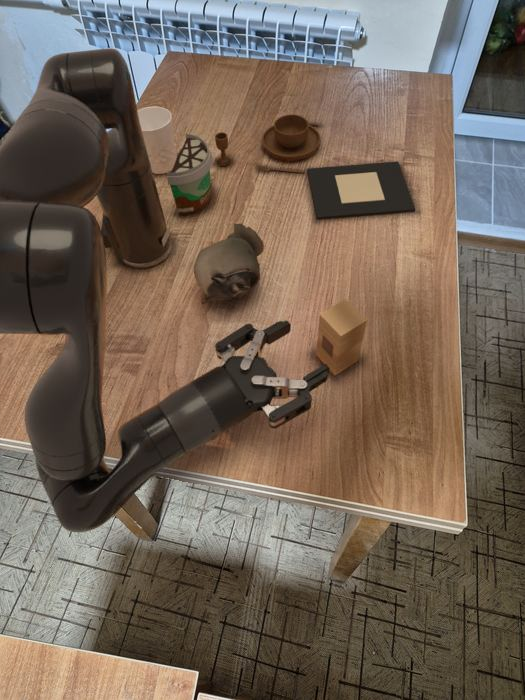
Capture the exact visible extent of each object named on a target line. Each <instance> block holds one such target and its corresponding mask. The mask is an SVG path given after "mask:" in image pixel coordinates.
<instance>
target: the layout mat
mask: <svg viewBox="0 0 525 700" xmlns="http://www.w3.org/2000/svg"><path fill="white" fill-rule="evenodd" d="M399 162H400V161H397V160H396V161H387V162H386V161H385V162H375V163H362V164H361V163H360V164H349V165H336V166H323V167H312V168H307V169H306V172H307V178H308V182H309V183H308V184H309V187H310V192H311V198H312V203H313V208H314V212H315V213H314V214H315V218H316V220H330V219H341V218H342V219H343V218H355V217H365V216H377V215H388V214H390V215H391V214H401V213H402V214H403V213H414V212H416V207H415V204H414V201H413V198H412V196H411V193H410V191H409V187H408V185H407V182H406V179H405V176H404V174H403V171H402V168H401V165H400V163H399Z"/></svg>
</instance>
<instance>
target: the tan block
mask: <svg viewBox="0 0 525 700" xmlns="http://www.w3.org/2000/svg"><path fill="white" fill-rule="evenodd" d="M367 322H368V319H367V318H366V317H365V316H364V315H362V314H361V312H360V311H359V310H358V309H357V308H355V307H354V305H352V304H351V303H350V302H349V300H347V299H346V298H344V299H343V300H341V301H339V302H338V303H336V304H335V305H333V306H331V307H329V308H328V309H326V310H324V311H322V312H321V313H319V318H318V328H317V339H316V349H315V356H316V357H317V358H318V359H319V361H320V362H322V363H323V365H324V364H326V365H327V366H328V367H329V368H330V369H329V372H331V373H332V375H333V376H337V375H338V374H340V373H341V372H343V371H344V370H346V369H348V368H350V367H351V366H353V365H354V364H355V363H357V362H358V361H359V360H360V355H361V350H362V346H363V341H364V336H365V333H366V327H367Z"/></svg>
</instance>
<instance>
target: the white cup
mask: <svg viewBox="0 0 525 700" xmlns="http://www.w3.org/2000/svg"><path fill="white" fill-rule="evenodd" d="M137 111H138V116H139V121H140V125H141V129H142V133H143V137H144V141H145V145H146V149H147V153H148V156H149V160H150V164H151V168H152V172H153V174H154V175H155V174H156V175H161V174H162V175H163V174H167V173H171V171H172V169H173V167H174V164H175V161H176V159H177V156H178V152H177V142H176V135H175V134H176V133H175V129H174V128H175V127H174V122H173V121H174V120H173V116H172V115H173V114H172V113H171V111H170V110H169V109H167V108H165V107H162V106H156V105H154V106H146V107H143V108H142V107H141V108H139V109H137Z"/></svg>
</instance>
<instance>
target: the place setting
mask: <svg viewBox="0 0 525 700" xmlns="http://www.w3.org/2000/svg"><path fill="white" fill-rule="evenodd" d="M314 126H319V123H316V122H311V121H310V122H309V121H308V119H306V118H305V117H303V116H302V115H299V114H285V115H282V116H279V117H277V118H276V119H275V121H274V122H273V125H270V126H269V127H268V128H267V129H266V130H265V131H264V132H263V134H262V136H261V142H262V147H263V149H264V150H265V152H266V153H267V154H268V155H270V156H271V157H273V158H275V159H278V160H281V161H287V162H288V161H289V162H290V161H299V160H300V161H301V160H304V159H306V158H308V157H311V155H312V156H313V155H314V153H316V152H317V150H318V149H319V148H320V144H321V134H320V132H319V131H318V130H317V128H316V127H314ZM214 142H215V146H216V148H217V150H218V151H220V158H218V159H217V160H216V163H217V165H218V166H219V167H224V168H225V167H228V166H230V165H231V163H232V159H231V158H229V157H227V154H226V150H227V149H228V147H229V138H228V133H226V132H222V131H220V132H217V133H215V135H214ZM254 168H256V169H257V170H259V171H263V172H271V171H278V172H286V173H296V174H297V173H298V174H304V173H305V171H303V170H295V169H288V168H287V169H286V168H277V167H269V166H264V165H262V164H258V163H256V164H255V167H254Z"/></svg>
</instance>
